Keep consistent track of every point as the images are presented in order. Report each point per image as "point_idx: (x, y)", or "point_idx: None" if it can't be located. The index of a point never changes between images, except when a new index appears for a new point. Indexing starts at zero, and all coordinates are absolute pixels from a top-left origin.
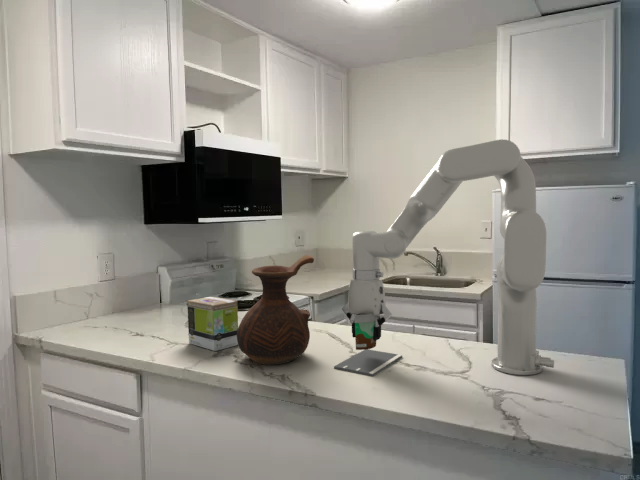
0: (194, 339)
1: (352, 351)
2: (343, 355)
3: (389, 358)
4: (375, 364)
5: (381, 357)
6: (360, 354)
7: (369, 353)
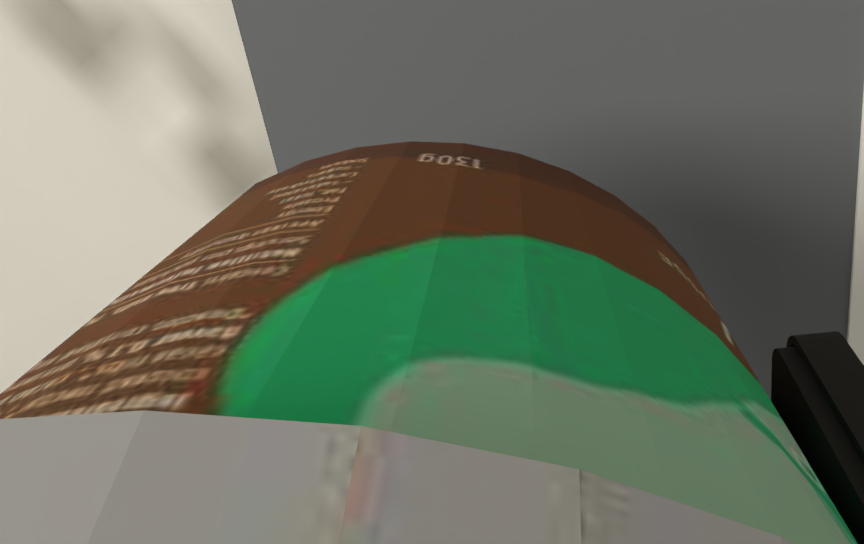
0: None
1: (71, 11)
2: (134, 234)
3: (828, 27)
4: (760, 355)
5: (684, 65)
6: (332, 147)
7: (403, 15)
